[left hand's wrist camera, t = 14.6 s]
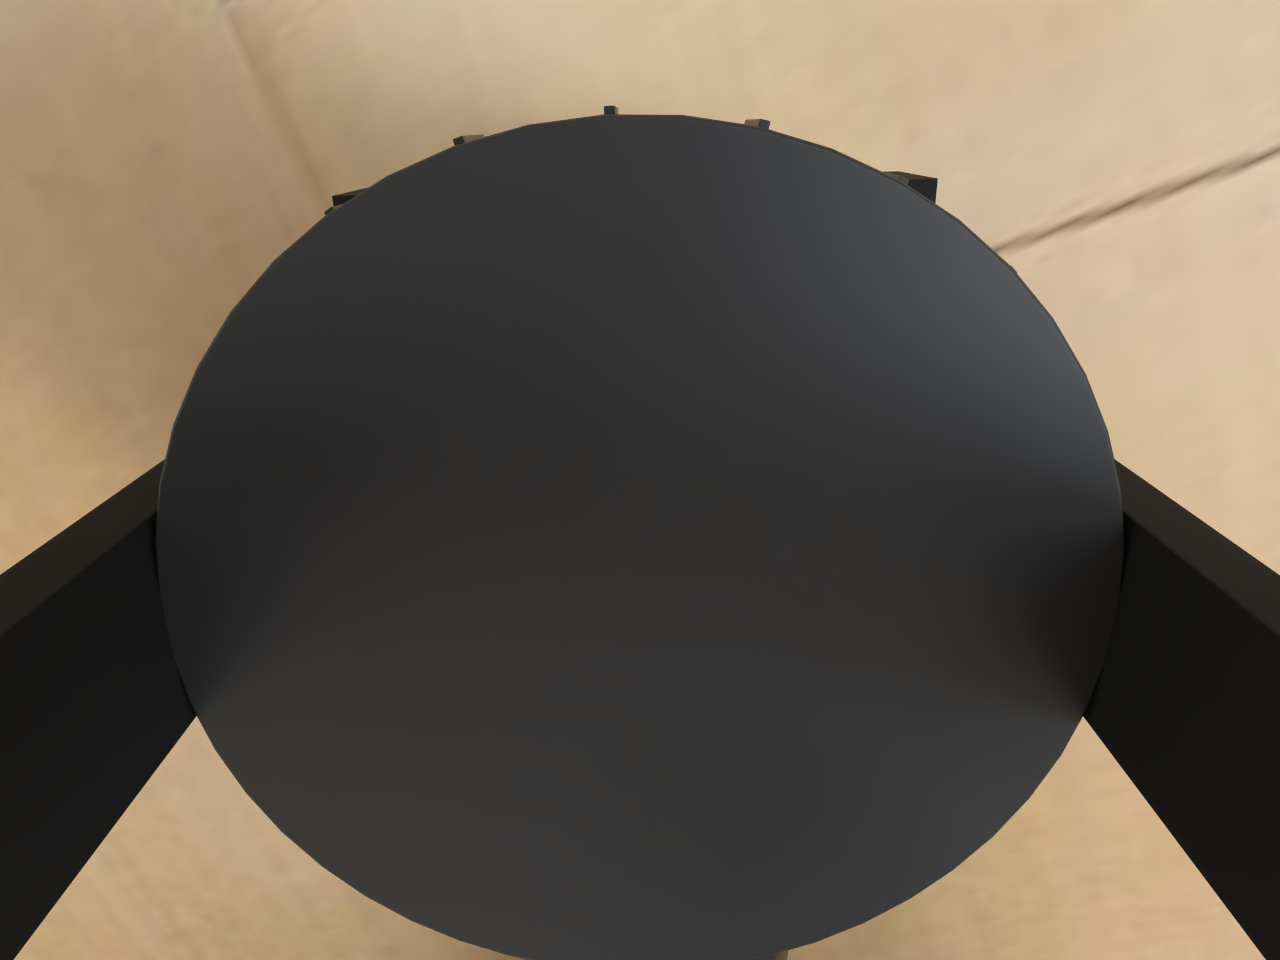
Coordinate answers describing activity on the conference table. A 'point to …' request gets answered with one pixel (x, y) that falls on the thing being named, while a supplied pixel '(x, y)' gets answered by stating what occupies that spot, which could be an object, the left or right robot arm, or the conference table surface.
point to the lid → (639, 541)
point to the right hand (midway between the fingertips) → (633, 182)
